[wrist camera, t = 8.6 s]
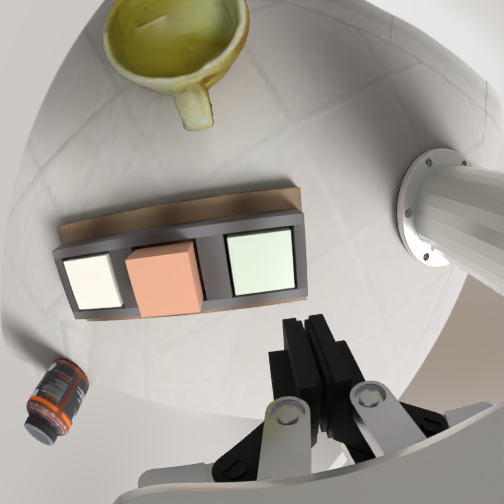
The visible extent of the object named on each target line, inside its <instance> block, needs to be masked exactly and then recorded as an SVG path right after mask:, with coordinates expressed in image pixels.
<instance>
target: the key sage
mask: <svg viewBox="0 0 504 504" xmlns="http://www.w3.org/2000/svg"><path fill="white" fill-rule="evenodd" d="M227 241H228V247H229V254H230V261H231V268H232V274H233V281H234V287H235V294H236V295H242V294H250V293H257V292H265V291H272V290H279V289H286V288H293V287H294V272H293V256H292V242H291V230H290V229H289V228H288V226H283V227H274V228H266V229H258V230H250V231H242V232H235V233H228V234H227Z"/></svg>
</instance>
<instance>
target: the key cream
mask: <svg viewBox="0 0 504 504" xmlns="http://www.w3.org/2000/svg"><path fill="white" fill-rule="evenodd" d="M64 265H65V269H66V272H67V275H68V278H69V281H70V284H71V287H72V290H73V293H74V296H75V299H76V301H77V304H78V307H79V309H94V308H109V307H121V306H122V305H123V303H124V302H123V299H122V295H121V292H120V289H119V286H118V282H117V279H116V276H115V272H114V269H113V265H112V261H111V257H110V254H109V251H103V252H97V253H91V254H85V255H79V256H73V257H70V258H68V259H67V260H65V261H64Z"/></svg>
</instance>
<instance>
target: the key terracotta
mask: <svg viewBox="0 0 504 504" xmlns="http://www.w3.org/2000/svg"><path fill="white" fill-rule="evenodd" d="M125 262H126V266H127V270H128V273H129V277H130V281H131V284H132V288H133V291H134V294H135V298H136V301H137V304H138V307H139V310H140V313H141V316H142V317H153V316H166V315H177V314H188V313H198V312H200V311H201V306H202V301H203V293H202V288H201V283H200V279H199V274H198V268H197V263H196V258H195V253H194V247H193V242H185V243H178V244H171V245H164V246H157V247H150V248H143V249H136V250H135V251H134V252H133V253H132V254H131V255H130V256H129V257H128V258H127V259H126V260H125Z"/></svg>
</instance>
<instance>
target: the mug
mask: <svg viewBox="0 0 504 504" xmlns="http://www.w3.org/2000/svg"><path fill="white" fill-rule="evenodd" d="M248 31H249V11H248V6H247V3H246V0H116V1H115V3H114V4H113V5H112V7H111V9H110V10H109V12H108V14H107V17H106V19H105V22H104V26H103V33H102V43H103V48H104V52H105V55H106V58H107V60H108V61H109V63H110V65H111V66H112V67H113V69H114V70H115V71H116V72H118V73H119V74H120V75H122V76H123V77H125V78H127V79H128V80H130V81H132V82H134V83H136V84H138V85H141V86H144V87H148V88H150V89H151V90H153V91H156V92H159V93H164V94H168V95H171V96H174V101H175V105H176V107H177V109H178V112H179V115H180V117H181V119H182V121H183V127H184V129H185V130H188V131H200V130H204V129H207V128H210V127H212V126H213V123H214V120H213V113H212V104H211V103H210V99H209V94H208V89H209V88H210V87H212V86H213V85H214V84H215V83H217V82H218V81H219V80H220V79H221V78H222V77H223V76H224V75H225V74H226V72H227V71H228V70H229V68H230V67H231V65H232V64H233V62H234V61H235V59H236V58H237V56H238V55H239V53H240V52H241V50H242V48H243V46H244V44H245V42H246V38H247V35H248Z"/></svg>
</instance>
